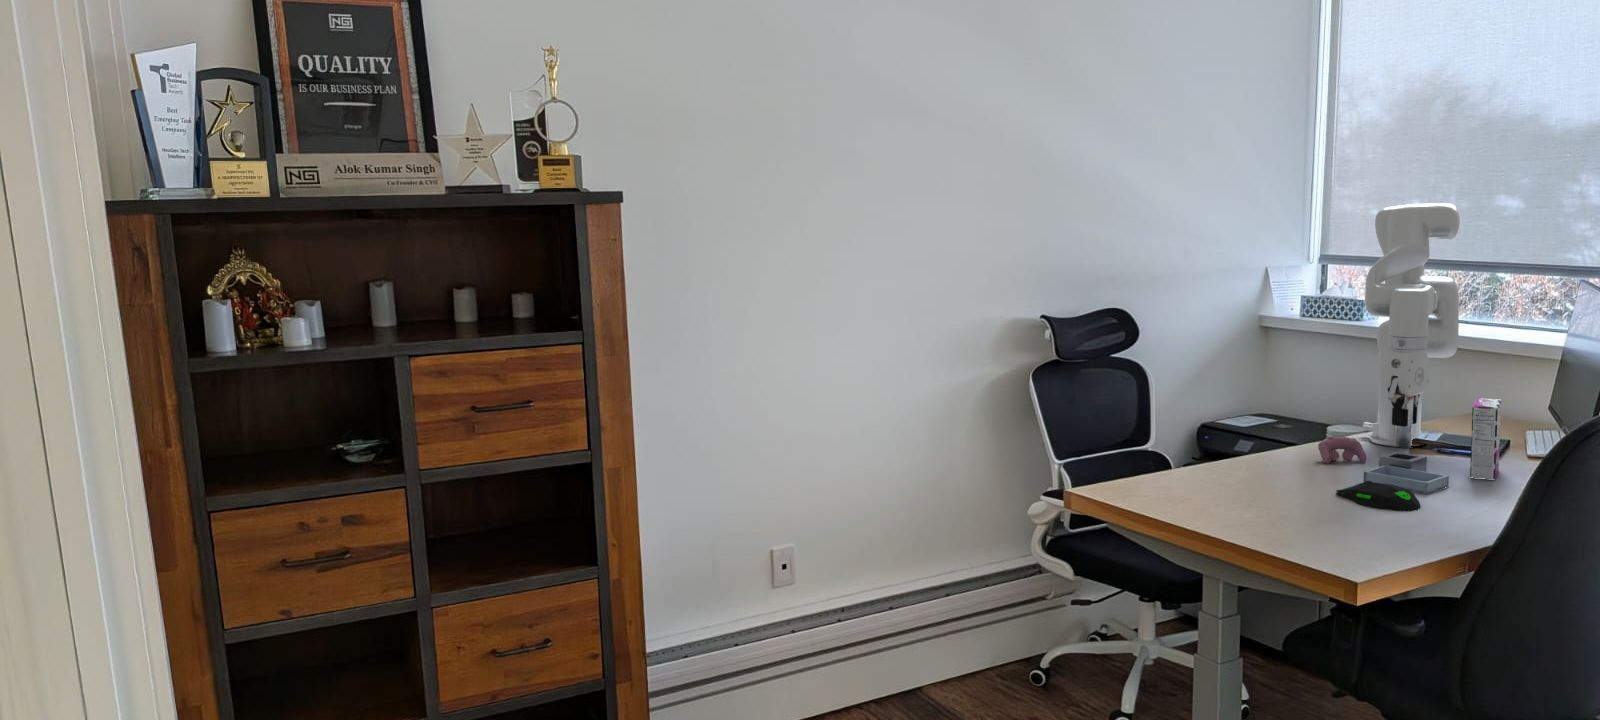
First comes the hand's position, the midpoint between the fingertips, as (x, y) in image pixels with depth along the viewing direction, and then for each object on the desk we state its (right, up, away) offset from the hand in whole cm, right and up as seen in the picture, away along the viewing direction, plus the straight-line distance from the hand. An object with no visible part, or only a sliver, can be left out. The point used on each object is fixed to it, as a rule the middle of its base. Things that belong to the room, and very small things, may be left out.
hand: (1404, 423), depth 232 cm
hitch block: (0, -11, +1) cm, 11 cm away
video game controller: (-6, -10, +15) cm, 19 cm away
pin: (0, -5, +1) cm, 5 cm away
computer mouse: (-17, -15, -19) cm, 30 cm away
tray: (-5, -13, -8) cm, 16 cm away
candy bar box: (+17, -11, -2) cm, 20 cm away
